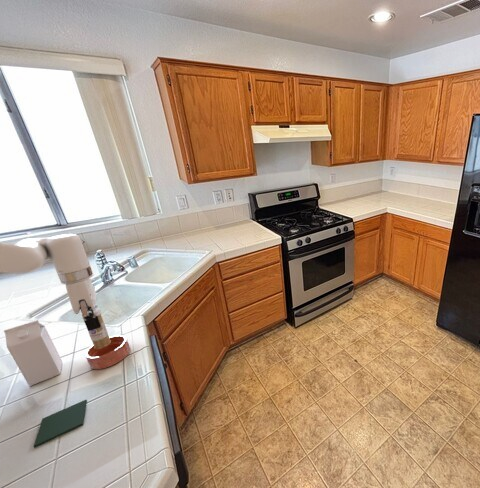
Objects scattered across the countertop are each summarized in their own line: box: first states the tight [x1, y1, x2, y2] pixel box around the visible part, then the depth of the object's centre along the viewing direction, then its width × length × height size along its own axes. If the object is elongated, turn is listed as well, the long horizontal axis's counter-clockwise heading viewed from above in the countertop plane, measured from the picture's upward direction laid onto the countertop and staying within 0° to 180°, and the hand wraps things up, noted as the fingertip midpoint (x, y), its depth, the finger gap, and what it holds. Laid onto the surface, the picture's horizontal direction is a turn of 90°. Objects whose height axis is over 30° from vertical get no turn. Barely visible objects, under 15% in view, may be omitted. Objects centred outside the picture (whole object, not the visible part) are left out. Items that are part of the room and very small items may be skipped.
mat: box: [33, 399, 88, 449], centre depth 69 cm, size 9×9×1 cm
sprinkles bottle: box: [80, 307, 111, 349], centre depth 86 cm, size 5×5×14 cm
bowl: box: [84, 334, 131, 370], centre depth 90 cm, size 11×11×5 cm
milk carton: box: [3, 319, 63, 387], centre depth 82 cm, size 7×7×19 cm
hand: (95, 324), depth 86 cm, fingers closed on sprinkles bottle, 4 cm apart
